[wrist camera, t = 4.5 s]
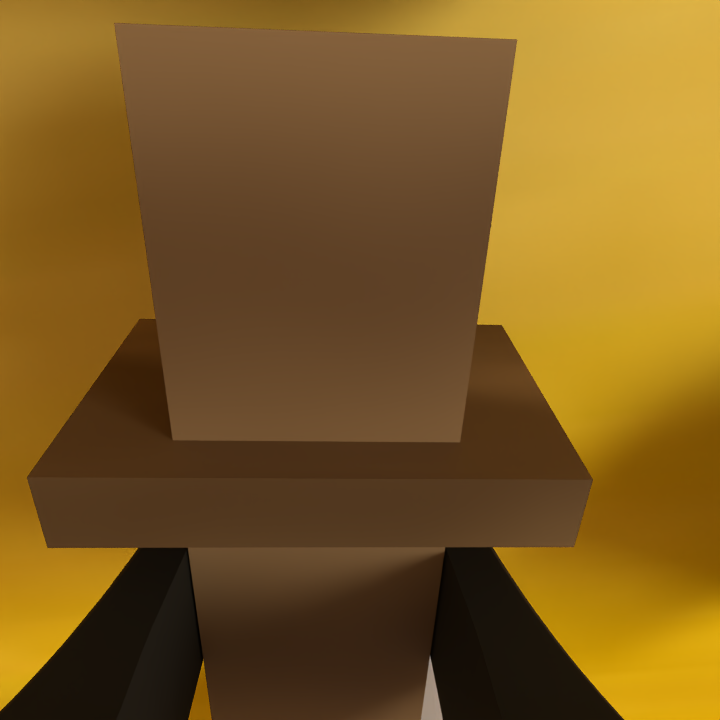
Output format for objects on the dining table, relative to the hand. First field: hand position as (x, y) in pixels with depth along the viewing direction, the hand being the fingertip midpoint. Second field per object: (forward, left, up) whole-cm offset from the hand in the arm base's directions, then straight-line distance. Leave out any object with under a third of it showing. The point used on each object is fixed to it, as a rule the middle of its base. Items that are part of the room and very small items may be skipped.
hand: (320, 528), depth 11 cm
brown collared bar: (+3, 0, -2) cm, 4 cm away
